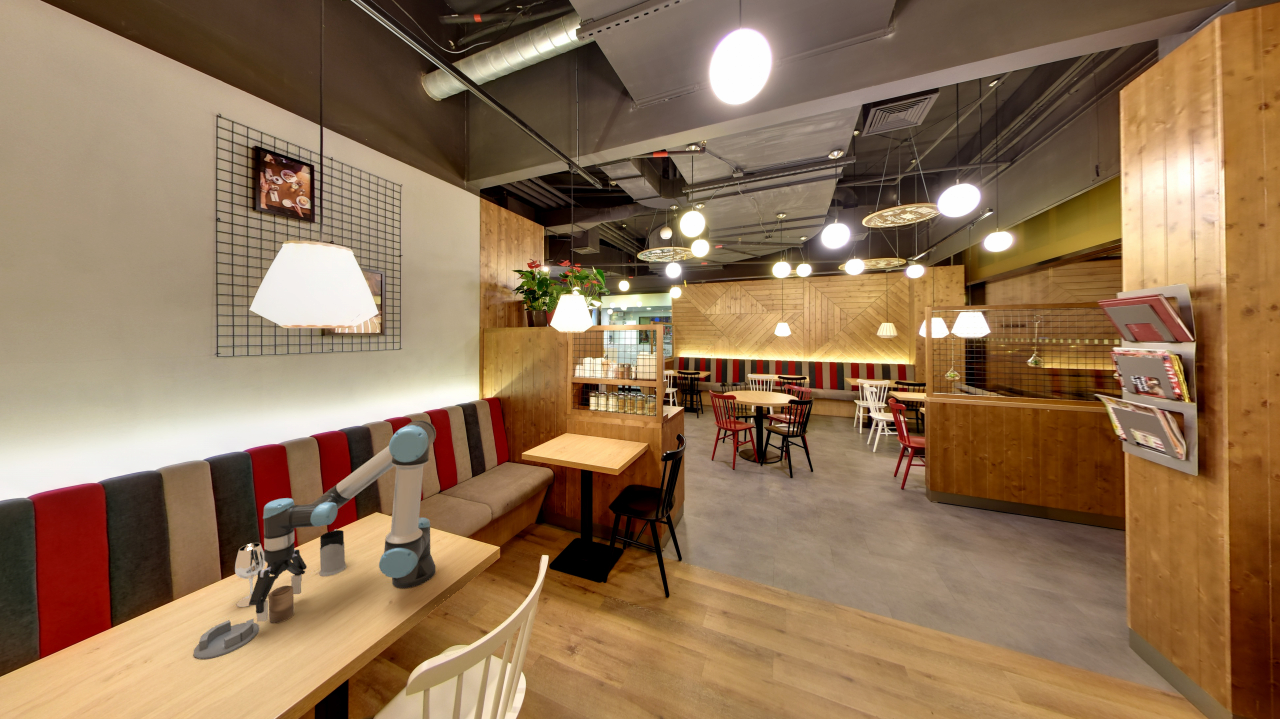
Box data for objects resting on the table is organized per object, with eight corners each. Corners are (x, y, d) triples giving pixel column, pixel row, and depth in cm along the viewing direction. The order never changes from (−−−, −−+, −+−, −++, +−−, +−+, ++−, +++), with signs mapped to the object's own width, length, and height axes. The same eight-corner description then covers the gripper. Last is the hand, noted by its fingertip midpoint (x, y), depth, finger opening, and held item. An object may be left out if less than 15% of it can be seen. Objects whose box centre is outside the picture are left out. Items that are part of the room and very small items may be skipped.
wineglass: (270, 596, 141) (269, 544, 141) (242, 610, 134) (240, 554, 134) (260, 590, 145) (258, 539, 144) (232, 603, 138) (229, 549, 137)
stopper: (298, 610, 135) (297, 583, 134) (284, 623, 128) (283, 595, 128) (279, 611, 134) (278, 584, 134) (264, 624, 128) (263, 596, 127)
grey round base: (271, 623, 128) (270, 613, 128) (230, 657, 114) (229, 646, 114) (225, 625, 127) (225, 615, 127) (178, 660, 113) (178, 649, 113)
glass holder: (317, 578, 152) (316, 542, 152) (324, 561, 165) (323, 527, 164) (344, 572, 157) (343, 536, 156) (349, 555, 169) (348, 522, 169)
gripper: (297, 528, 142) (297, 583, 143) (231, 567, 117) (233, 634, 118) (318, 528, 143) (319, 583, 144) (258, 566, 118) (259, 633, 119)
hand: (280, 606), depth 131 cm, fingers open, 13 cm apart
